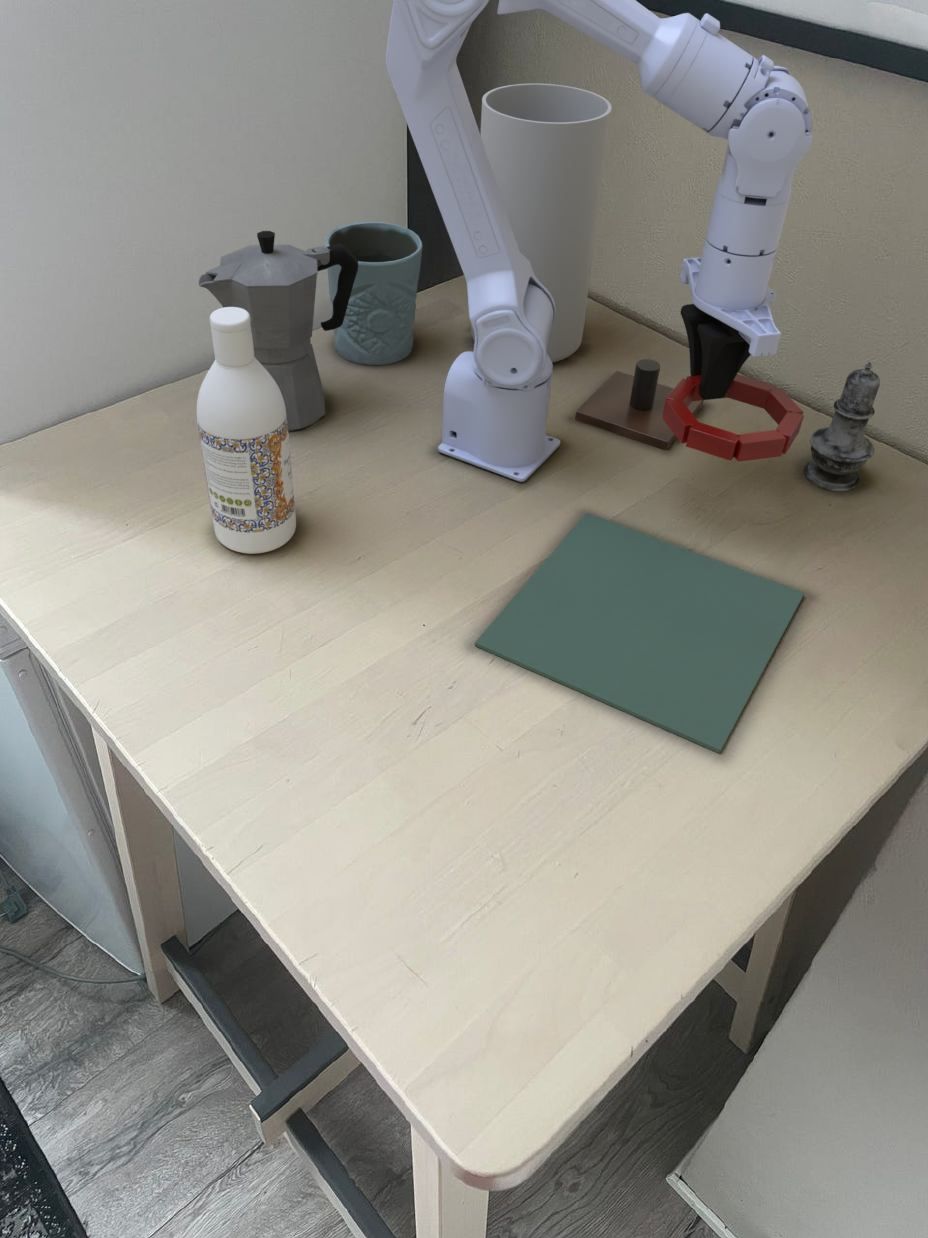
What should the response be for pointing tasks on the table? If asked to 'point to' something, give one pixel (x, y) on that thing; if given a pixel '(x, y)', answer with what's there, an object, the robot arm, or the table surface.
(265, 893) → the table surface
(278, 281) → the coffeepot
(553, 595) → the mat
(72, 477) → the table surface
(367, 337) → the teal embossed mug
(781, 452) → the ring
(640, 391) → the ring holder
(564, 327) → the cylinder vase
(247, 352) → the bath foam
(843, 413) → the salt shaker
